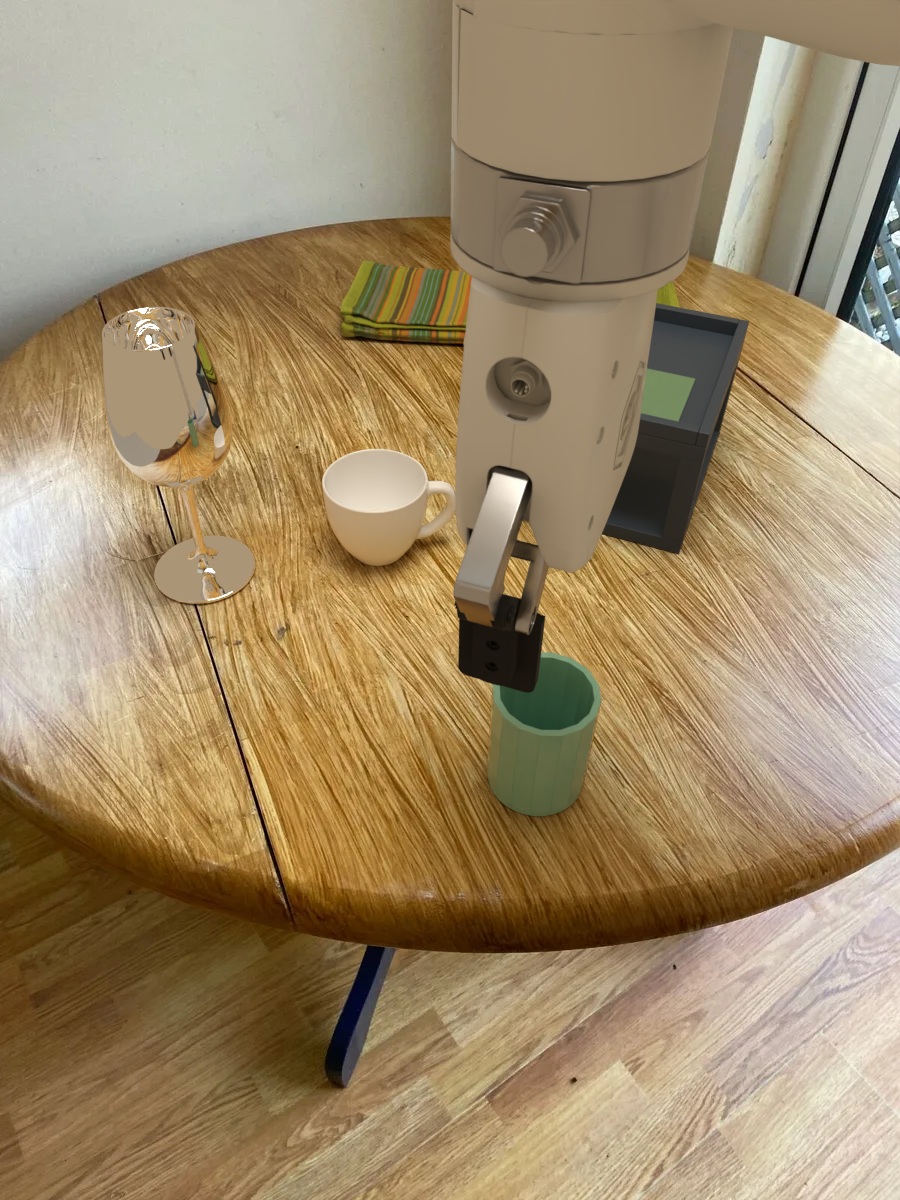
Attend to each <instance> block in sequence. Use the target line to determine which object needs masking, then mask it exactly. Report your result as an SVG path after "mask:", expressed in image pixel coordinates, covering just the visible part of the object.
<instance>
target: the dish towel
mask: <svg viewBox="0 0 900 1200" xmlns="http://www.w3.org/2000/svg"><path fill="white" fill-rule="evenodd" d="M471 280H472V276H471V275H469V274H468V273H467V272H466V271H464V270H452V269H451V270H450V269H439V268H438V269H436V268H426V267H424V268H423V267H416V266H415V267H414V266H398V265H397V266H396V265H389V264H384V263H383V264H382V263H379V262H376V261H372V260H362V261H361V264H360V265H359V268H358V270H357V272H356V273H355V277H354V279H353V281H352V283H351V284H350V287H349V289H348V291H347V294H346V295H344V297H343V299H342V301H341V304H340V307H339V312H340V313H339V315H340V318H341V319H344V320H343V322H341V323H340V333H341V335H342V336H343V337H346V338H353V337H362V338H365V339H366V338H367V339H372V340H373V339H374V340H381V341H398V342H399V341H400V342H411V343H431V344H433V343H434V344H461V345H464V338H465V332H466V322H467V313H468V305H469V296H470V287H471ZM656 303H659V304H664V305H669V306H674V307H679V308H681V307H680V303H679V299H678V295H677V291H676V285H675V283H674V281H672V282H669V283H668V284H666V285H665V286H664V287H662V288H659V289H658V291H657V299H656Z"/></svg>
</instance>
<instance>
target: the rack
mask: <svg viewBox="0 0 900 1200" xmlns="http://www.w3.org/2000/svg"><path fill="white" fill-rule="evenodd" d="M679 307H680V306H679ZM679 307H674V306H669V305H664V304H659V303H656V308H655V315H654V323H653V330H652V337H651V343H650V350H649V357H648V364H647V371H646V378H645V385H644V393H643V400H642V408H641V415H640V423H639V430H638V435H637V440H636V444H635V448H634V451H633V454H632V457H631V460H630V463H629V466H628V468H627V471H626V474H625V476H624V479H623V482H622V484H621V487H620V489H619V492H618V495H617V497H616V500H615V502H614V505H613V507H612V510H611V512H610V515H609V517H608V520H607V522H606V525H605V527H604V529H603V532H602V534H601V535H604V536H609V537H612V538H616V539H620V540H624V541H627V542H632V543H636V544H639V545H643V546H646V547H651V548H654V549H658V550H662V551H666V552H670V553H674V554H678V555H679V554H680V553H681V549H682V546H683V543H684V541H685V538H686V536H687V531H688V528H689V526H690V523H691V519H692V516H693V513H694V510H695V507H696V504H697V502H698V500H699V496H700V493H701V490H702V487H703V484H704V481H705V478H706V475H707V472H708V469H709V466H710V463H711V460H712V457H713V454H714V452H715V448H716V444H717V442H718V440H719V436H720V433H721V430H722V425H723V422H724V418H725V415H726V411H727V407H728V403H729V399H730V396H731V392H732V388H733V384H734V381H735V377H736V374H737V369H738V367H739V361H740V360H741V359H740V358H741V356H742V355H741V354H742V351H743V347H744V343H745V340H746V336H747V332H748V328H749V324H750V320H746V319H741V318H737V317H731V316H725V315H721V314H716V313H710V312H705V311H700V310H695V309H689V308H683V307H680V308H679Z"/></svg>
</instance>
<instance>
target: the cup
mask: <svg viewBox="0 0 900 1200" xmlns="http://www.w3.org/2000/svg"><path fill="white" fill-rule="evenodd" d="M325 469H326V470H325V471H324V473H323V475H322V477H321V478H322V479H321V485H322V487H321V488H322V498H323V505H324V509H325V514H326V518H327V521H328V523H329V526H330V528H331V530H332V532H333V535H334V536H335V538H336V539H337V540H338V542H339V543H340V544H341V546H342V547H343V548H344V549H345V550H346V551H347V552H348V553H349V554H350V555H351V556H353V558H355V559H356V560H358V561H359V562H360V563H362V564H364V565H367V566H373V567H382V566H388V565H391V564H393V563H395V562H397V561H398V560H400V559H401V558H402V557H403V556H404V555H405V554H407V552H408V551H409V550H410V548H411V547H412V546H413V545H414V543H415V541H416V540H421V539H426V538H428V537H431V536H433V535H435V534H436V533H437V532H439V531H440V530H442V529H443V528H444V527H446V525H447V524H448V523H450V521H451V520H452V519H453V518H454V516H455V515H456V507H455V488H454V487H453V486H452V485H451V483H449V482H447V481H443V480H429V478H428V474H427V471H426V469H425V467H424V466H423V465H422V464H421V463H420V462H419V461H418V460H417V459H415V458H414V457H412V456H410V455H409V454H407V453H404V452H401V451H397V450H392V449H387V448H367V449H362V450H357V451H353V452H350V453H347V454H345V455H343V456H340V457H339V458H337V459H336V460H334V461H333V462H332V463H331V464H329V466H327V468H325ZM433 495H443V496H444V498H445V504H444V507H443V508H442V510H441V511H440V512H439V514H437V515H436V516H435V517H434V518H433V519H432V520H431V521H429V522H428V523H426V524H424V522H425V519H426V514H427V509H428V502H429V499H430V497H432V496H433Z"/></svg>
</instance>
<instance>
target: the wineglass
mask: <svg viewBox="0 0 900 1200" xmlns="http://www.w3.org/2000/svg"><path fill="white" fill-rule="evenodd" d="M203 339H204V338H203V336H202V335H201V332H200V331H199V328H198V326H197V324H196V322H195V319H194V318H193V317H192V316H191V315H190V314H188V313H187V312H185V311H183V310H180V309H178V308H174V307H168V306H148V307H141V308H135V309H132V310H128V311H125V312H122V313H120V314H118V315H116V316H114V317H113V318H111V319H110V320H109V321H107V322H106V324H105V325H104V326H103V328H102V331H101V361H102V362H101V363H102V364H101V365H102V382H103V397H104V407H105V409H104V410H105V414H106V415H105V416H106V420H107V425H108V426H107V427H108V430H109V435H110V439H111V443H112V445H113V447H114V449H115V452H116V454H117V456H118V457H119V459H120V461H122V463H123V464H124V465H125V467H126V468H127V469H128V470H129V471H130V472H131V473H133V474H134V475H135V476H137V477H138V478H140V479H142V480H143V481H145V482H146V483H149V484H151V485H154V486H158V487H162V488H166V489H177V490H179V493H180V494H181V495H180V496H181V497H182V500H183V503H184V507H185V510H186V514H187V519H188V523H189V527H190V530H191V535H192V537H191V538H189V539H186V540H182V541H181V542H179V543H177V544H175V545H173V546H172V547H171V548H169V549H167V550H166V552H164V553H163V554H162V555H161V556H160V558H159V560H158V561H157V562H156V565H155V568H154V572H153V579H154V584H155V585H156V587H157V588H158V590H159V591H160V592H161V593H162V594H163V596H166V597H167V598H169V599H171V600H173V601H176V602H178V603H183V604H188V605H189V604H191V605H203V604H211V603H215V602H219V601H222V600H224V599H227V598H230V597H231V596H233V595H235V594H237V593H238V592H239V591H241V590H242V589H244V588H245V587H246V586H247V585H248V583H250V581H251V580H252V577H254V574H255V571H256V566H257V563H256V558H255V554H254V553H253V551H252V550H251V548H250V547H248V546H247V545H246V544H245V543H244V542H242V541H240V540H239V539H236V538H234V537H230V536H227V535H226V536H225V535H215V534H211V535H210V534H209V535H203V532H202V531H203V530H202V527H201V522H200V518H199V514H198V509H197V505H196V500H195V486H196V485H197V486H198V484H199V485H200V484H201V483H203V482H204V481H206V480H207V479H209V478H211V476H212V475H214V474H215V473H216V472H217V471H218V470H219V469H220V468H221V466H223V464H224V462H225V460H226V459H227V458H228V455H229V453H230V450H231V446H232V442H233V437H234V436H233V433H234V432H233V419H232V415H231V410H230V406H229V402H228V399H227V395H226V393H225V391H224V387H223V385H222V382H221V378H220V377H219V374H218V372H217V370H216V367H215V364H214V362H213V360H212V357H211V355H210V353H209V350H208V348H207V346H206V343H205V341H204V340H203Z"/></svg>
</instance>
